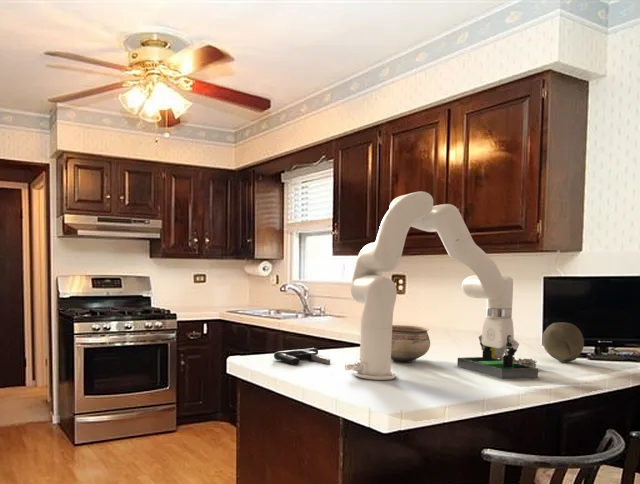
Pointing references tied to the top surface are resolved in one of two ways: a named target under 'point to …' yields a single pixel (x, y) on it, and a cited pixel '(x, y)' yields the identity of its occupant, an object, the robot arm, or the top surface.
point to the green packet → (495, 364)
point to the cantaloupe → (563, 341)
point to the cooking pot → (409, 342)
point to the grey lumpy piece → (525, 362)
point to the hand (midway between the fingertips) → (496, 364)
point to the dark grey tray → (498, 369)
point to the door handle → (300, 356)
